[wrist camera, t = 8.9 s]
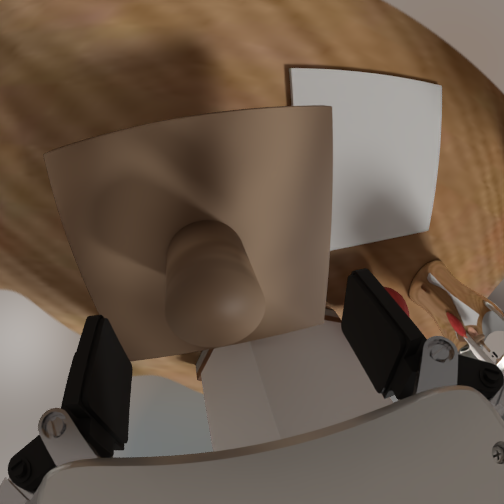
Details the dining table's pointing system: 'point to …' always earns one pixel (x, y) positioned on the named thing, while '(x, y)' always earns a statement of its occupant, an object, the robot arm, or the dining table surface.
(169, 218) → the lid
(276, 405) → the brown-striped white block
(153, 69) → the dining table surface
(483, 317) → the beer glass
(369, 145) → the mat
